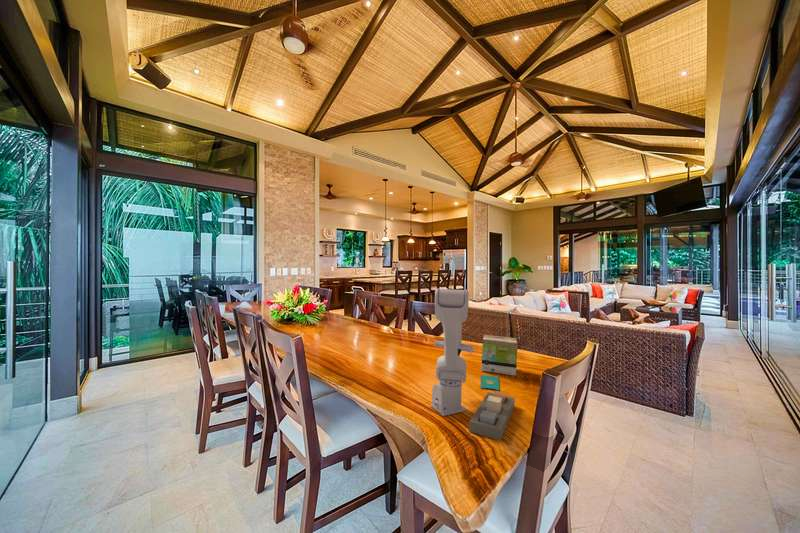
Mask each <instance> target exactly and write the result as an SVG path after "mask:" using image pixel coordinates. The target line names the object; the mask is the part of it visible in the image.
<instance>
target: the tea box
mask: <svg viewBox="0 0 800 533" xmlns="http://www.w3.org/2000/svg"><path fill="white" fill-rule="evenodd" d="M481 346H482V349H481V350H482V351H481V365H480V366H481V372H488V373H495V374H496V373H497V374H501V375H502V374H503V375H509V376H514V375H515V376H517V365H518V362H517V360H518V340H517V338H516V337H507V336H500V335H499V336H498V335H489V334H483V338H482V344H481Z"/></svg>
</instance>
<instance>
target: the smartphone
mask: <svg viewBox="0 0 800 533" xmlns="http://www.w3.org/2000/svg"><path fill="white" fill-rule="evenodd" d="M480 389H481V390H486V391H487V390H488V391H493V392H494V391H496V392H500V391H501V390H500V389H501V387H500V381H499V376H495V375H489V374H488V375H487V374H481V375H480Z"/></svg>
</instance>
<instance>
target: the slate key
mask: <svg viewBox="0 0 800 533" xmlns="http://www.w3.org/2000/svg"><path fill="white" fill-rule="evenodd" d="M496 421H497V413H494V412H490V411H486V410H483V411H482V413H481V415H480V422H483V423H487V424H491V425H494V426H495V425H496Z"/></svg>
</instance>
